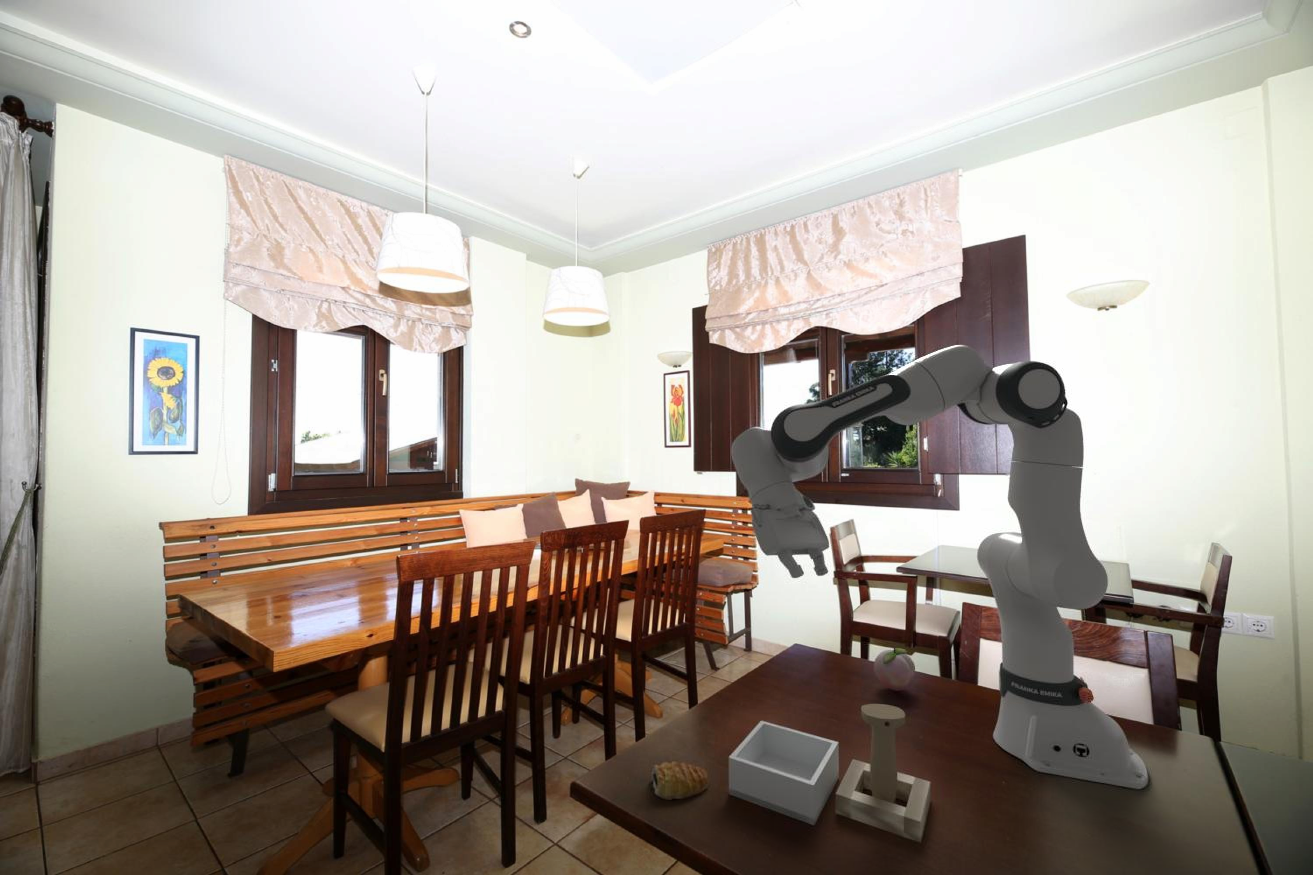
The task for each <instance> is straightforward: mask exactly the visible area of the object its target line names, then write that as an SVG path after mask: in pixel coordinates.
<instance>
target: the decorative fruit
mask: <svg viewBox="0 0 1313 875" xmlns="http://www.w3.org/2000/svg"><path fill="white" fill-rule="evenodd" d="M873 669H874V672H875V676H876V677H877V678H878V680H879V681H880V682H881V683H882V684H883V685H884V686H885V687H887V688H888V689H890V690H892V691H894V692H897V691H901V690H903V689H904V688H906V687H907V686H908V685H909V684H910V683H911V681H913V678H914V675H915V672H916V666H915V663H914V660H913V659H912V658H911V656H910V655H908V651H907V650H906V649H904V648H900V647H896V646H893V649H888V650H887V649H885V650H883V651H882V652H880V653H879V654H877V656H876V657H875V658H874V663H873Z"/></svg>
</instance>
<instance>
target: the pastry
mask: <svg viewBox="0 0 1313 875" xmlns="http://www.w3.org/2000/svg"><path fill="white" fill-rule="evenodd" d="M651 778H652V781H653V783H652V787H653V788H654V793H655V795H656V796H657V797H659V798H661V799H663V800H670V801H672V800H673V799H677V800H681V799H685V798H689V797H691V796H692V797H693V796H694V795H698V794H701V793H702V792H703V791H705V790H706V789H708V788H709V784H710V783H709V776H708V773H707V770H705V769H703V768H701V767H700V766H694V765H693V764H687V763H685V762H682V763H679V762H677V761H675V760H673V761H672V762H671V763H669V762H667V761H663V762H662V763H661V765H659V764H655V765H654V768H653V769H652V772H651Z"/></svg>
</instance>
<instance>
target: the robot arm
mask: <svg viewBox="0 0 1313 875" xmlns="http://www.w3.org/2000/svg"><path fill="white" fill-rule="evenodd" d="M1064 383H1065V382H1064V381H1063V378H1062V377H1061V375H1060V373H1059V372H1058V371H1057V370H1056V369H1055V367H1053V366H1051V365H1049V364H1048V363H1044V362H1041V361H1036V360H1035V361H1034V360H1024V361H1023V360H1022V361H1018V362H1015V363H1009V364H1007V363H1006V364H1002V365H999V366H996V367H990V366H989V365H987V364H986V363H985V361H984V359H983V357H982V356H981V355H980V353H979V352H977V350H975V349H974V348H972V347H970V346H968V345H964V344H959V345H958V344H956V345H952V346H949V347H945V348H942V349H939V350H937V351H934V352H931V353H930V354H927V355H925V356H922V357H920V358H917V359H915V360H913V361H912V362H910V363H908V364H905V365H903V366H902V367H900V368H898V369H896V370H894V371H891V372H890V373H888V374H884V375H880V376H877V377H875V378H872V379H869V380H868V381H865V382H862V383H860V384H858V385H855V386H852V387H850V388H849V389H846V390H844V391H842V392H839V393H837V394H835V395H833V396H831V397H828V398H824V399H822V400H819V401H815V402H809V403H808V402H807V403H801V404H795V405H792V406H789V407H787V408H785V409H784V410H782V411H780V413H778V414H777V416H776V417H775V418H774V420H773V422H772V425H771V428H770V429H768V428H763V427H760V426H752V427H750V428H748V429H745V430H743V431H742V432H741V433H740V434H738V435H737V436H736V438H735V439H734V440H733V441H732V443H731V448H730V454H731V455H730V456H731V460H732V463H733V465H734V468H735V471H736V473H737V475H738V478H739V480H740V482H741V484H742V485H743V487H744V488H745V489H746V490H747V493H748V499H749V502H750V504H751V510H750V514H751V516H752V518H751V526H752V530H753V532H754V535H755V539H756V541H757V544H758V545H759V548H760V550H761V552H763V553H764V555H766V556H768V557H769V556H777V558H778V559H779V562H780V563H781V564H783V566H784V567H785V568H786V569H787V571H788V572H789V575H790V577H791V578H792V579H799V578H801V577H803V576H804V574H805V572H804V569H803V567H802V565H801V564H798V562H797V561H796V559H795V558H794V556H804V555H805V556H806V555H808V556H809V558H810V560H812V562H813V565H814V567H813V570H814V572H815V574H816V576H817V577H822V576H825V575H827V574H828V573H829V569H828V566H827V565H826V562H825V561H826V560H825V555H824V553H823V552H825V551H826V550H828V549H829V548H830V541H829V537H828V535H827V533H826V531H825V529H824V525H823V524H822V522H821V520H820V518H819V517H818V515H817V514H816V513H815V512H814V511H815V510H816V506H815V504H814V503H813V501H812V500H811V499H810V498H808V497H807V496H805V495H804V494H802V492H800V491H799V490H798V489H797V488H796V486H795V485H794V483H797V482H801V481H806V480H809V479H812V478H815V477H817V476H819V474H821V473H823V471H824V470H825V468H826V467H827V465H828V463H829V454H830V453H829V452H830V451H829V449H830V447H829V445H830V443H831V441H832V440H833V438H834V437H835V436H836V435H838V434H840V433H841V432H844V431H845V430H848V429H850V428H852V427H854V426H856V425H859V424H862V423H863V422H865V421H868V420H870V419H873V418H876V417H880V416H885V417H887V419H889V420H890V421H892V422H894V423H896V424H899V425H903V426H912V425H915V424H919V423H922V422H925V421H927V420H930V419H931V418H934V417H936V416H938V415H939V414H942V413H944V412H945V411H948V410H949V409H951V408H952V407H954V406H957V407H958V408H959V410H960V411H961V412H962V414H963V415H964V416H965V417H967V418H968V419H969V420H971V421H973V422H975V423H977V424H982V425H987V426H989V425H990V426H991V425H1000V426H1001V425H1007V426H1008V429H1009V431H1010V432H1011V434H1012V439H1013V442H1012V443H1013V448H1012V453H1011V462H1010V471H1009V481H1008V483H1009V484H1008V492H1007V501H1008V504H1009V507H1010V508H1011V509H1012V511H1013V512H1014V513H1015V515H1016V518H1017V521H1018V524H1019V528H1020V533H1019V532H1016V531H1015V532H1012V531H1011V532H996V533H992V534H990V535H988V536H986V537H985V538H984V539H983V540H982V541H981V542H980V544H979V546H978V549H977V554H976V556H977V557H976V558H977V562H978V565H979V567H980V570H982V572H983V574H985V576H986V578H987V580H988V582H989V585H990V588H991V590H992V595H993V598H994V601H995V605H996V608H997V612H998V616H999V621H1000V628H1001V630H1000V632H1001V653H1002V654H1001V656H1002V658H1001V663H1000V664H999V670H998V685H999V692H1000V695H1001V696H1000V697H1001V698H1000V706H999V712H998V718H997V722H996V725H995V728H994V731H993V733H992V738H993V739H994V741H995V743H996V744H998V746H1000V747H1001V748H1002V749H1003V750H1004V751H1006V752H1007V753H1009V754H1011V755H1013V756H1015V757H1017V758H1018V759H1020V760H1021V761H1023V762H1024V763H1026V764H1027V765H1028V766H1029V767H1030V768H1031V769H1033V770H1035V771H1036V772H1040V773H1044V774H1046V773H1047V774H1052V775H1055V776H1056V775H1057V776H1061V777H1062V776H1063V777H1067V778H1073V779H1080V780H1085V781H1090V782H1096V783H1100V784H1101V783H1103V784H1108V785H1113V786H1119V787H1125V788H1128V789H1129V788H1130V789H1136V790H1141V789H1143V788H1145V787H1146V786H1147V785H1148V783H1149V774H1148V769H1147V766H1146V764H1145V763H1144V761H1143V759H1142V758H1141V757H1140V756H1139V755H1138V754H1137V752H1135V751H1134V750H1132V749H1131V748H1130V746H1129V742H1128V739H1127V737H1126V734H1125V732H1124V730H1123V729H1122V728H1121V726H1120V725H1119V724H1118V723H1117V721H1116V720H1114V718H1112V717H1110V716H1109V715H1108V714H1107V713H1105V712H1104V711H1103V710H1101V709H1100V708H1099V707H1098V706H1097V705H1096V704H1094V703H1093V701H1094V699H1095V697H1094V694H1093V691H1092V690H1091V689H1090V688H1089V685H1088V684H1087V682H1085V680H1084V678H1083V677H1082V676H1080V678H1079V677H1078V676H1077V675H1075V674H1074V673H1075V672H1074V671H1075V670H1074V665H1075V664H1074V662H1075V660H1074V659H1075V658H1074V637H1073V636H1074V635H1073V633H1072V631H1071V629H1070V627H1069V626H1068V624H1066V621H1064V619H1063V618H1062V615H1061V614H1060V611H1059V609H1058V607H1059V608H1065V609H1073V610H1087V609H1089V608H1092V607H1094V606H1096V605H1098V604H1099V603H1100V602H1101V601H1102V599H1103V598H1104V596H1105V595H1106V593H1107V590H1108V586H1109V585H1108V584H1109V578H1108V573H1107V571H1106V568H1105V567H1104V565H1103V564H1102V563H1101V562H1100V561H1099V559H1098V558H1097V556H1095V555H1096V554H1094V553H1093V551H1092V549H1091V547H1090V544H1089V542H1088V540H1087V536H1086V533H1085V529H1084V526H1083V520H1082V515H1081V514H1082V513H1081V496H1082V482H1083V480H1082V479H1083V470H1084V457H1085V455H1084V452H1085V450H1084V448H1085V447H1084V446H1085V445H1084V433H1083V428H1082V421H1081V418H1080V416H1079V415H1078V414H1077V413H1076V412H1075V411H1074V410H1071V409H1070V408H1067V407H1068V404H1069V403H1068V400H1067V396H1066V388H1065V387H1066V386H1065V384H1064Z"/></svg>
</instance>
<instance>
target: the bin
mask: <svg viewBox="0 0 1313 875" xmlns="http://www.w3.org/2000/svg"><path fill="white" fill-rule="evenodd" d="M839 754H840V753H839V741H835V740H832V739H828V738H824V737H821V736H817V735H814V734H812V733H811V734H810V733H808V732H803V731H800V730H796V729H793V728H789V727H786V726H781V725H779V724H774V723H770V722H768V721H764V720H760V721H759V723H758V724H756V726H755V727H754V728H753V730H751V731H750V733H749V734H748V735H747V736H746V737H745V738H744V740H742V742H741V743H740V744H739V745H738V746H737V747H736V748H735V750H734V751H732V753H731V754H730V755H729V756H728V795H730V796H733V797H736V798H738V799H741V800H744V801H747V802H749V803H752V804H755V805H758V806H760V807H763V808H766V809H769V810H771V811H773V812H777V813H778V814H781V815H784V816H788V817H790V818H793V819H795V820H798V821H801V822H804V823H806V824H809V825H812V826H815V825H816V823H817V821H818V820H819V817H820V816H821V813H822V811H823V809H824V807H825V805H826V803H827V802H828V799H829V797H830V796H831V793H832V792H833V790H834V788H835V785H836V783H837V782H838V780H839V778H840V774H839V773H840V767H839V766H840V764H839V763H840V761H839V759H840V758H839V757H840V756H839Z"/></svg>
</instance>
